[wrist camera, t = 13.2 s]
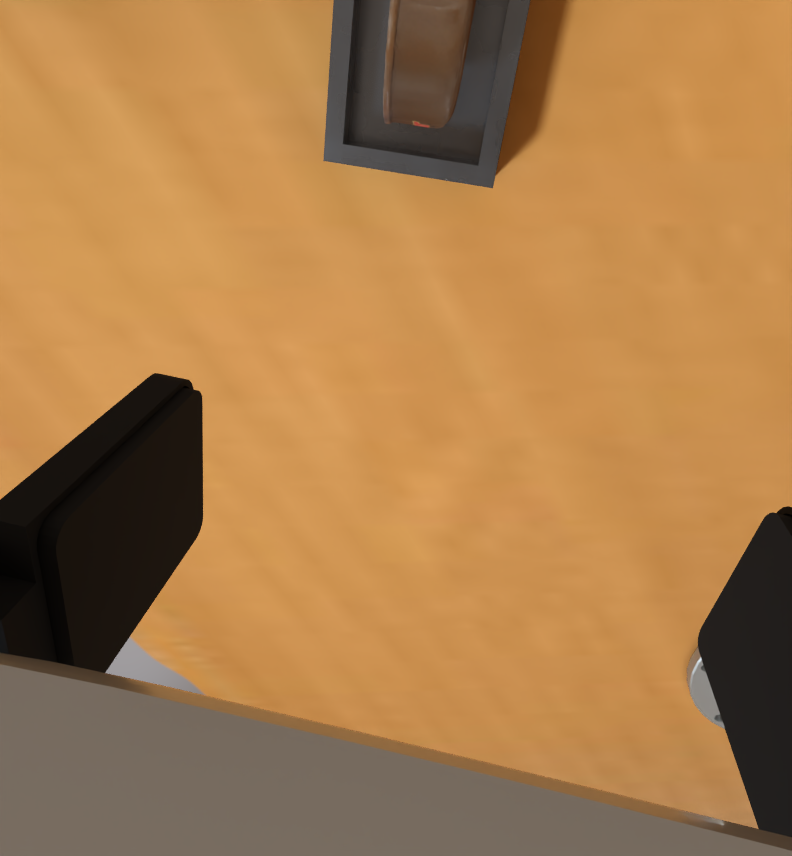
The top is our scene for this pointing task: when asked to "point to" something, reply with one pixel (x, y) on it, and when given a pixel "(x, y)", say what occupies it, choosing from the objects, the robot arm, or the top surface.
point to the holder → (408, 144)
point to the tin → (425, 60)
